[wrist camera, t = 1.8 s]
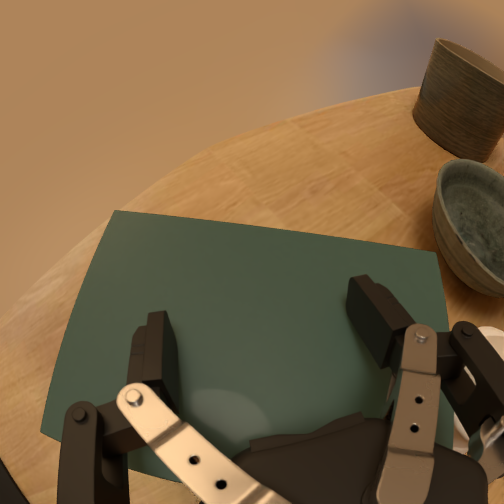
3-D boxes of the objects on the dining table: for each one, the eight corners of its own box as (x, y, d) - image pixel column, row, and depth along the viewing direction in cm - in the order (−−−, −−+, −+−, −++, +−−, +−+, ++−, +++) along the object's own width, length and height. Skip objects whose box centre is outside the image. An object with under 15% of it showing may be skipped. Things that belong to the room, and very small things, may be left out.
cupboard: (342, 464, 23) (450, 480, 9) (141, 439, 24) (39, 432, 10) (350, 342, 30) (436, 252, 16) (168, 319, 31) (114, 209, 17)
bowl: (504, 232, 41) (534, 195, 32) (513, 340, 30) (561, 309, 21) (410, 185, 44) (434, 138, 36) (399, 296, 34) (441, 249, 25)
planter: (471, 175, 48) (515, 96, 31) (393, 112, 58) (418, 34, 41) (498, 153, 56) (530, 92, 39) (435, 102, 65) (457, 41, 49)
